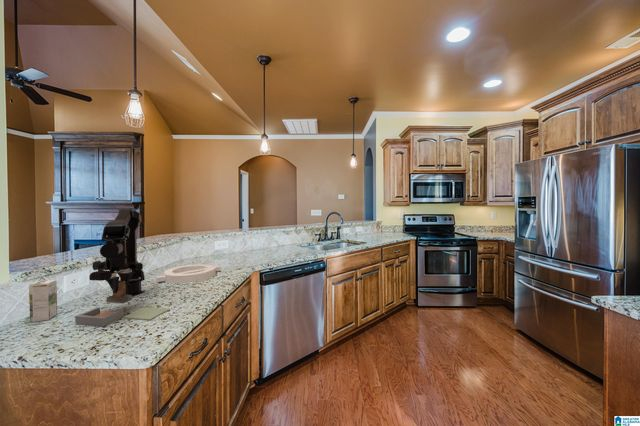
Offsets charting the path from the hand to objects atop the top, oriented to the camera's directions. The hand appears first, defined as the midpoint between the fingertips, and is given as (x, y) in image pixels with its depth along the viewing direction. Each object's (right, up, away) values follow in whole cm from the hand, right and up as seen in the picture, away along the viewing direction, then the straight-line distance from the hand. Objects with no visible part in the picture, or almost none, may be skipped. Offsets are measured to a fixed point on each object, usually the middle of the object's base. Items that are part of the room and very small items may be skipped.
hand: (119, 291), depth 109 cm
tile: (-1, -9, -6) cm, 11 cm away
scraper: (0, -4, 0) cm, 4 cm away
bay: (-1, -9, -7) cm, 12 cm away
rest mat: (+13, -8, -2) cm, 15 cm away
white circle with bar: (+4, -7, +53) cm, 53 cm away
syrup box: (-25, -9, -5) cm, 27 cm away
